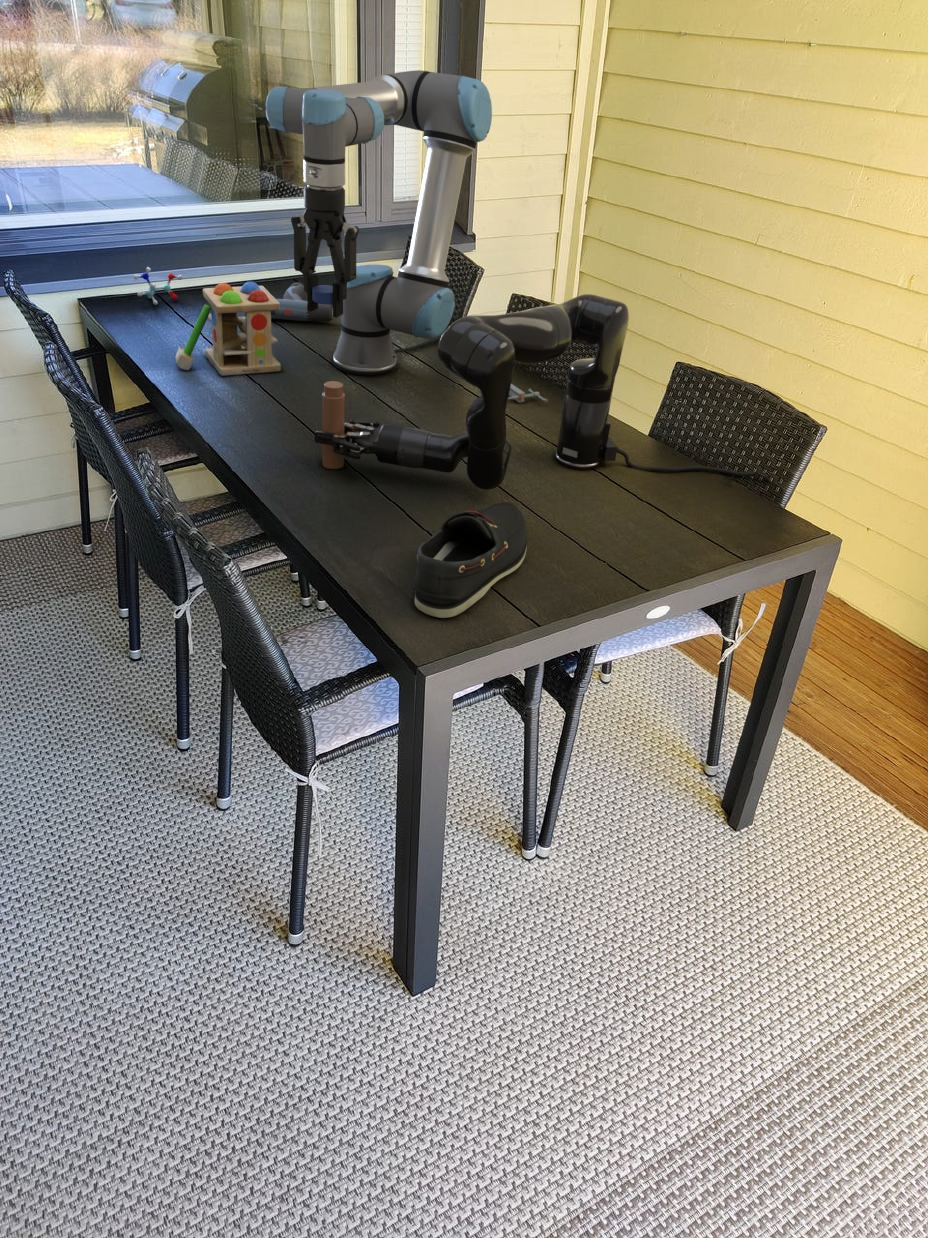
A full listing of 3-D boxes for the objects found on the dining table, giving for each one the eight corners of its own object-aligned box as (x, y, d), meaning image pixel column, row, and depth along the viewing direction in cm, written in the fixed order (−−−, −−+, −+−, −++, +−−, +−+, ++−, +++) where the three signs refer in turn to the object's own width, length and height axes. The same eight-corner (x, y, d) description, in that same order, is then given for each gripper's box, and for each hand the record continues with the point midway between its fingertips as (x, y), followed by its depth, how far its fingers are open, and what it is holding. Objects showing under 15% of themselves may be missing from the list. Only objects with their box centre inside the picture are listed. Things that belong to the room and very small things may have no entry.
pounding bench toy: (183, 379, 220) (176, 299, 210) (169, 357, 231) (162, 280, 221) (282, 371, 230) (280, 294, 220) (264, 350, 240) (262, 276, 230)
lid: (319, 305, 188) (318, 293, 187) (308, 297, 192) (307, 286, 190) (342, 302, 191) (342, 291, 189) (331, 294, 194) (331, 283, 193)
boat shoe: (553, 546, 173) (559, 493, 167) (451, 625, 149) (454, 565, 143) (491, 526, 178) (495, 473, 173) (382, 598, 154) (383, 540, 149)
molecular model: (165, 296, 257) (152, 258, 255) (138, 309, 260) (124, 272, 259) (191, 298, 267) (178, 262, 266) (164, 311, 271) (151, 276, 270)
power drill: (344, 304, 276) (335, 327, 259) (277, 298, 275) (264, 321, 258) (344, 285, 273) (335, 306, 256) (277, 279, 272) (264, 300, 255)
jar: (334, 457, 194) (335, 378, 185) (348, 465, 192) (350, 385, 183) (317, 463, 192) (317, 383, 182) (331, 470, 189) (332, 390, 180)
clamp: (478, 378, 231) (514, 373, 235) (477, 387, 232) (513, 382, 236) (512, 401, 220) (549, 396, 225) (511, 411, 221) (548, 405, 226)
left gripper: (271, 181, 179) (275, 308, 192) (357, 197, 174) (355, 327, 187) (293, 174, 185) (296, 298, 198) (377, 190, 179) (375, 316, 193)
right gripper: (416, 414, 190) (331, 399, 192) (395, 442, 178) (306, 427, 181) (413, 449, 194) (331, 435, 197) (393, 479, 182) (306, 464, 185)
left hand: (325, 312), depth 193 cm, fingers closed on lid, 5 cm apart
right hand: (319, 431), depth 189 cm, fingers closed on jar, 4 cm apart
